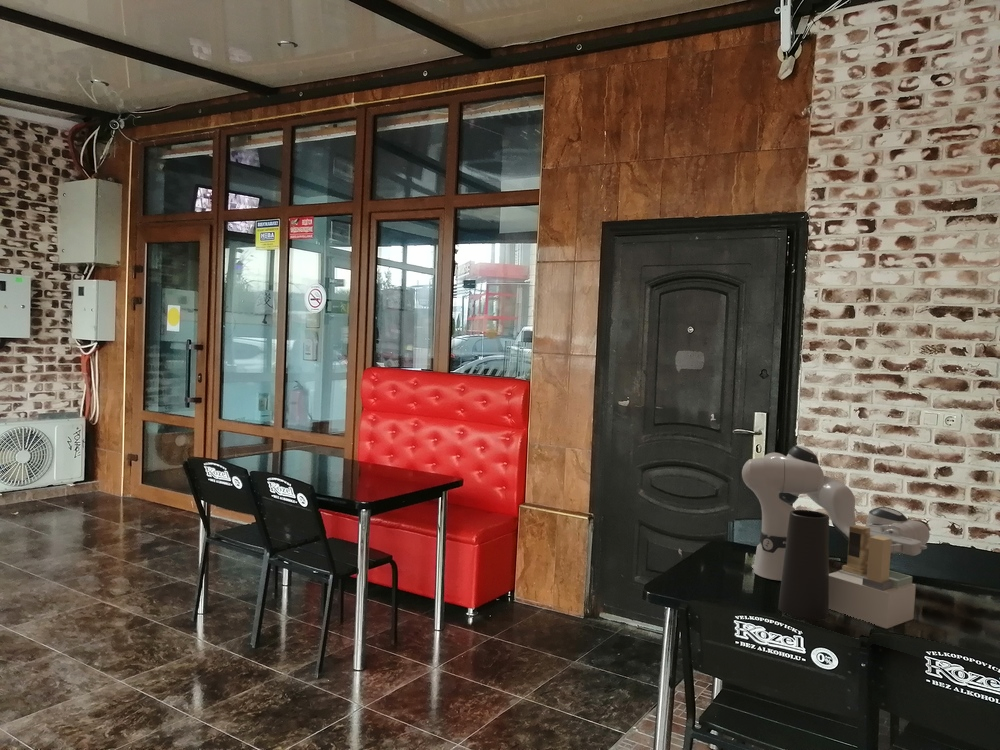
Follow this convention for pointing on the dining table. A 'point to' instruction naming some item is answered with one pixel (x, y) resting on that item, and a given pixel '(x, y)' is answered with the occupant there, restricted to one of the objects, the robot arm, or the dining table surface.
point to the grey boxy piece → (874, 589)
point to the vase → (806, 567)
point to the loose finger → (858, 550)
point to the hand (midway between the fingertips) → (872, 544)
